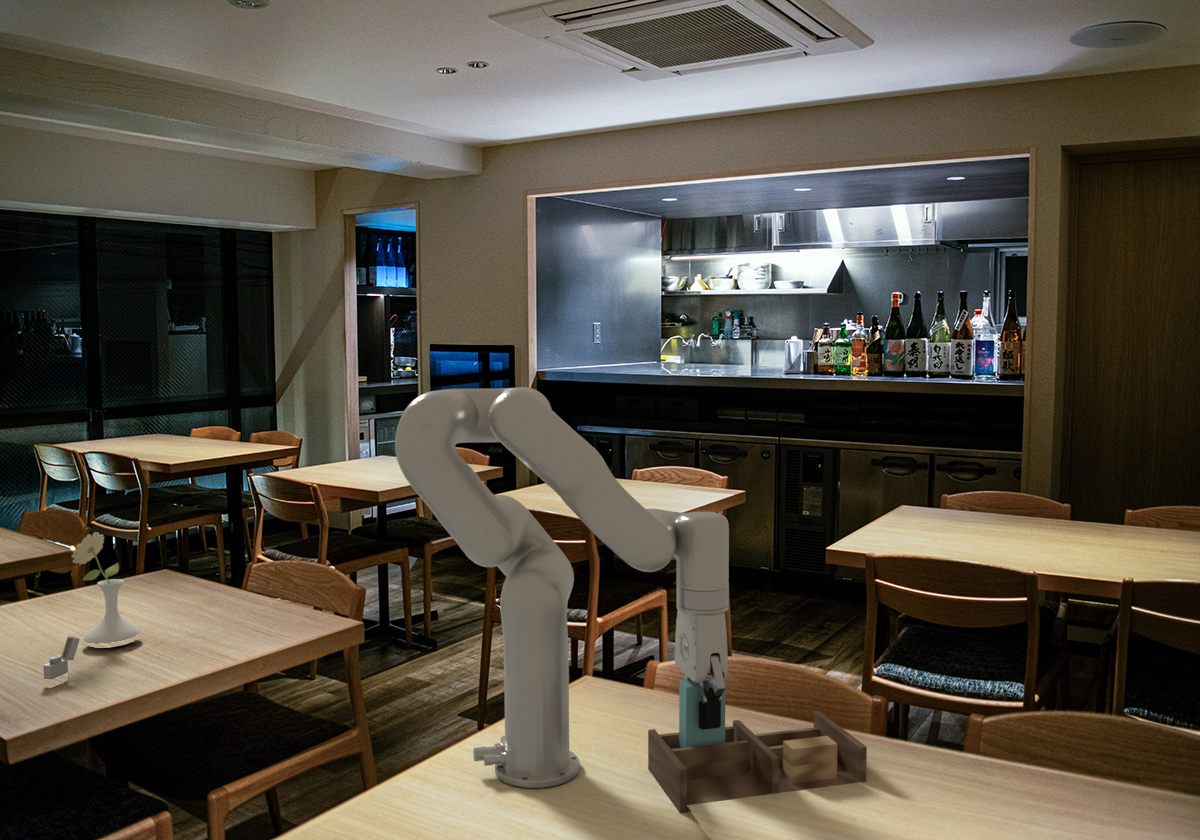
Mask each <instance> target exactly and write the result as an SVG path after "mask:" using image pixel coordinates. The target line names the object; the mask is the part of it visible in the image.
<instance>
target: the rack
mask: <svg viewBox="0 0 1200 840" xmlns="http://www.w3.org/2000/svg"><path fill="white" fill-rule="evenodd" d="M647 731H648V732H647V738H648V739H647V742H648V743H647V744H648V745H647V751H648V752H647V754H648V755H647V756H648V759H647V764H648V765H647V766H648V767H647V768H648V771H649V772H650V774H651V775H652V777H653V778H654V779H655V781H656V782H657V784H658V785H659V787H660V788H661V789H662V790H663V791H664V793H665V795H666V796H667V797H668V799H669V800H670V801H671V803H672V804H673V806H674V808H676V810H677V811H678V813H679V814H682V813H683V814H684V813H688V812H689V813H690V812H692V810H691V809H690V807H689V806H690V805H698V804H699V805H700V804H705V803H714V802H720V801H721V802H722V801H728V800H736V799H737V800H738V799H743V798H744V799H745V798H751V797H759V796H766V795H773V794H774V795H775V794H781V793H789V792H790V793H791V792H796V791H804V790H812V789H819V788H826V787H835V786H843V785H849V784H856V783H864V782H867V757H868V756H867V754H868V753H867V752H868V751H867V749H868V748H867V746H866V744H864V743H862V742H861V741H859V739H857V738H856V737H854V736H853V735H852V734H850V733H849V731H847V730H845V729H844V728H843V727H841V726H840V725H839V724H837V723H836V722H835V721H833V720H832V719H830V718H829V717H828V716H827V715H825V714H824V713H823V712H821V711H820V710H818V711H817V710H815V711H813V727H807V728H799V729H791V730H781V731H775V732H774V731H772V732H763V733H753V731H752V730H750V728H748V727H747V725H745V724H744V723H743V722H742V721H741V720H739V719H736V720H734V719H733V721H732V725H731V726H725V743H719V744H711V745H702V746H694V747H685V748H679V731H678V732H670V733H669V732H668V733H662V734H659V733H658V731H657V730H656V729H655V728H653V729H648V730H647ZM821 736H828V737H829V738H831V739H832V740H833V741H834V742H836V743H837V778H833V779H825V780H817V781H810V782H802V783H794V784H792V783H791V782H790V781H789V780H788V779H787V778H786V777H785V776H784V775H783V741H787V740H796V739H804V738H813V737H821Z"/></svg>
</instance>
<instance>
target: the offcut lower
mask: <svg viewBox="0 0 1200 840" xmlns="http://www.w3.org/2000/svg"><path fill="white" fill-rule="evenodd" d="M783 775H784V776H785V777H786V778H787V779H788V780H789V781H790V782H791V783H792V784H794V783H802V782H810V781H817V780H825V779H833V778H837V761H833V762H825V763H817V764H809V765H801V766H793V767H792V766H791V765H790V764H789V763H788V762H787V761H786V760H785V759H784V758H783Z"/></svg>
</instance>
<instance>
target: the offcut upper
mask: <svg viewBox="0 0 1200 840" xmlns="http://www.w3.org/2000/svg"><path fill="white" fill-rule="evenodd" d="M783 758H784V759H785V760H786V761H787V762H788V763H789V764H790V765H791V766H792V767H793V766H801V765H809V764H817V763H825V762H833V761H837V743H836V742H834V741H833V740H832V739H831V738H829V737H828V736H821V737H813V738H804V739H796V740H787V741H783Z"/></svg>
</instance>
